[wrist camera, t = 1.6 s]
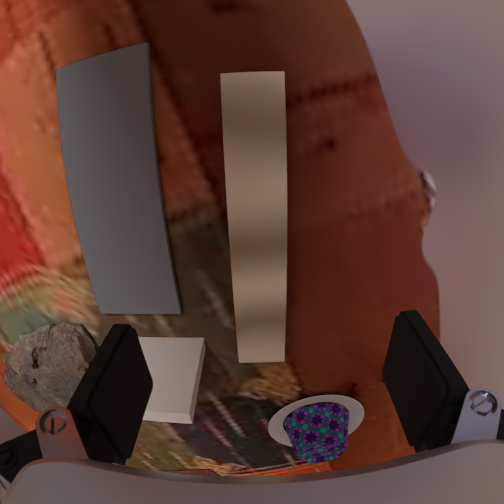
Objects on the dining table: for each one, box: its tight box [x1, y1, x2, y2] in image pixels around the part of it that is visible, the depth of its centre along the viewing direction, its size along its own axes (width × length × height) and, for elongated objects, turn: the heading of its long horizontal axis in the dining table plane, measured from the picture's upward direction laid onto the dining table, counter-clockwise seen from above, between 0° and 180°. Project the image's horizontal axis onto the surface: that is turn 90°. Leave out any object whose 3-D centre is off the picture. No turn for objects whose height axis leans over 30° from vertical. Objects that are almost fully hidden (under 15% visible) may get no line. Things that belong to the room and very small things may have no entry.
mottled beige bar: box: [220, 71, 287, 363], centre depth 21 cm, size 20×4×5 cm, turn 2°
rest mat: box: [56, 42, 182, 314], centre depth 22 cm, size 22×8×1 cm, turn 3°
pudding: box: [268, 395, 364, 463], centre depth 32 cm, size 12×12×5 cm
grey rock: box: [3, 322, 97, 413], centre depth 29 cm, size 14×5×20 cm
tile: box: [138, 337, 206, 424], centre depth 24 cm, size 2×9×9 cm, turn 93°
